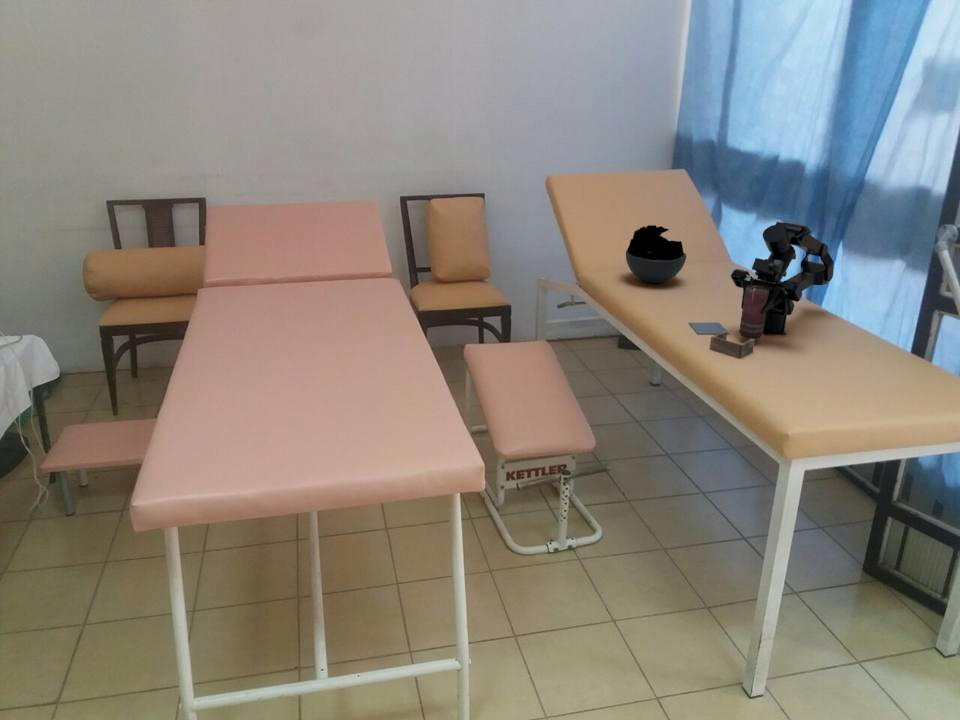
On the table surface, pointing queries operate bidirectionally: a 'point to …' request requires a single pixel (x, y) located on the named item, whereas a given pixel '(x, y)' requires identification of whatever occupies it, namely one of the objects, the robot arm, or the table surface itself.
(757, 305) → the can
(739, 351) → the bracket
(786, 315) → the robot arm
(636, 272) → the coal bowl
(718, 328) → the mat
